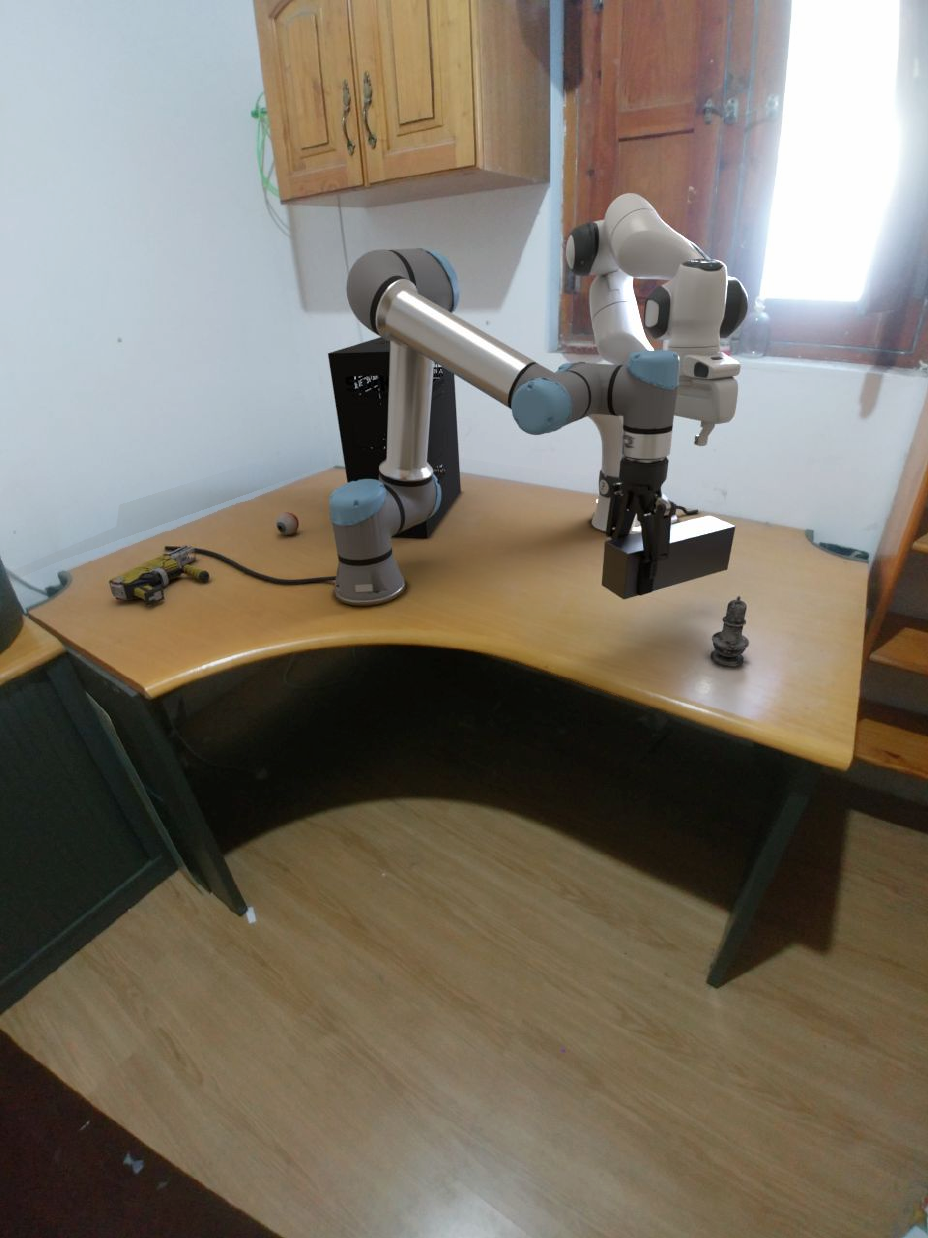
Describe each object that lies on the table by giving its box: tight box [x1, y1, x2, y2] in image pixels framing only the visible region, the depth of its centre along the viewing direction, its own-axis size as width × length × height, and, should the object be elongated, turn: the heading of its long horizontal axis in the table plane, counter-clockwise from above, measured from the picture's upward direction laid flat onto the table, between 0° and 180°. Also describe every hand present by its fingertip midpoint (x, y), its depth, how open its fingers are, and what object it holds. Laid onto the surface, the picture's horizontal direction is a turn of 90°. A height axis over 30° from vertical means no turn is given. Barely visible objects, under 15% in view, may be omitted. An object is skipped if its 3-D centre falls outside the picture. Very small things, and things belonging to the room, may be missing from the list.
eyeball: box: [275, 511, 300, 536], centre depth 163 cm, size 6×6×6 cm
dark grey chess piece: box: [710, 595, 750, 667], centre depth 101 cm, size 6×6×12 cm
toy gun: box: [108, 544, 210, 607], centre depth 141 cm, size 5×24×15 cm
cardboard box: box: [327, 336, 462, 539], centre depth 164 cm, size 38×20×45 cm, turn 167°
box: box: [601, 515, 737, 601], centre depth 109 cm, size 24×6×9 cm, turn 115°
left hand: (631, 584), depth 108 cm, fingers closed on box, 6 cm apart
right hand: (682, 440), depth 116 cm, fingers open, 8 cm apart
